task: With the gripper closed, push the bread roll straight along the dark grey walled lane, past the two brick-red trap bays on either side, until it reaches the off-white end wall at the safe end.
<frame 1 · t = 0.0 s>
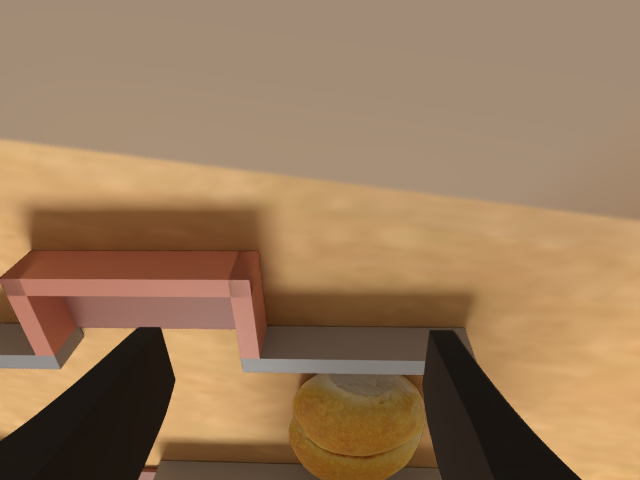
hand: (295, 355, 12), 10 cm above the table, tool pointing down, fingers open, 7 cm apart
bread roll: (353, 403, 28), on the table
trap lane: (141, 405, 29), on the table
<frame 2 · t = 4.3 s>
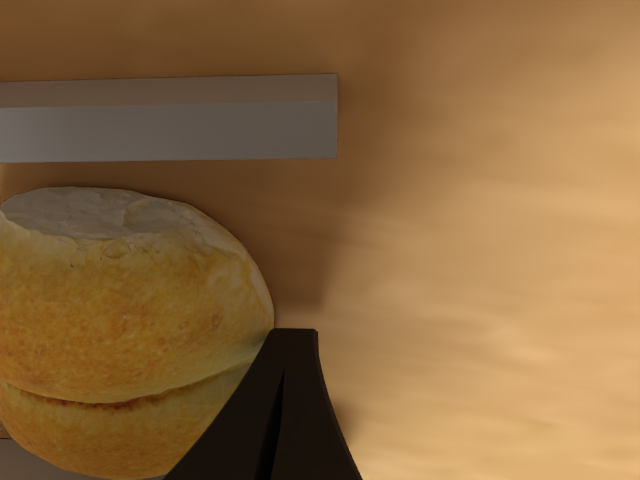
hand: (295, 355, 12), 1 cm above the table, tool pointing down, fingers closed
bread roll: (143, 304, 14), on the table, touching gripper
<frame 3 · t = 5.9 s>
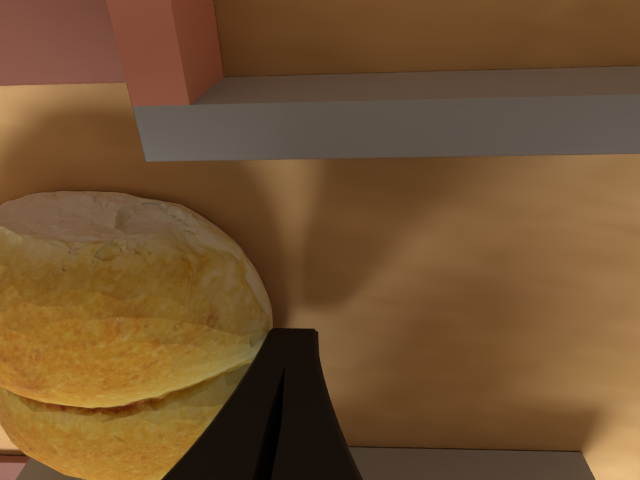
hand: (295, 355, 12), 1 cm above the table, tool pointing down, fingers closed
bread roll: (142, 307, 14), on the table, touching gripper
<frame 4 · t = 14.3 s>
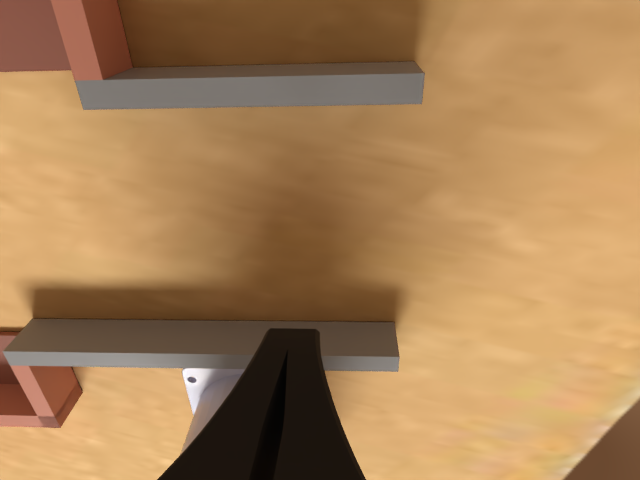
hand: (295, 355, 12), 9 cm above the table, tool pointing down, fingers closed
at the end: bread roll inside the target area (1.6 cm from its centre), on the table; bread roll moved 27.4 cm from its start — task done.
